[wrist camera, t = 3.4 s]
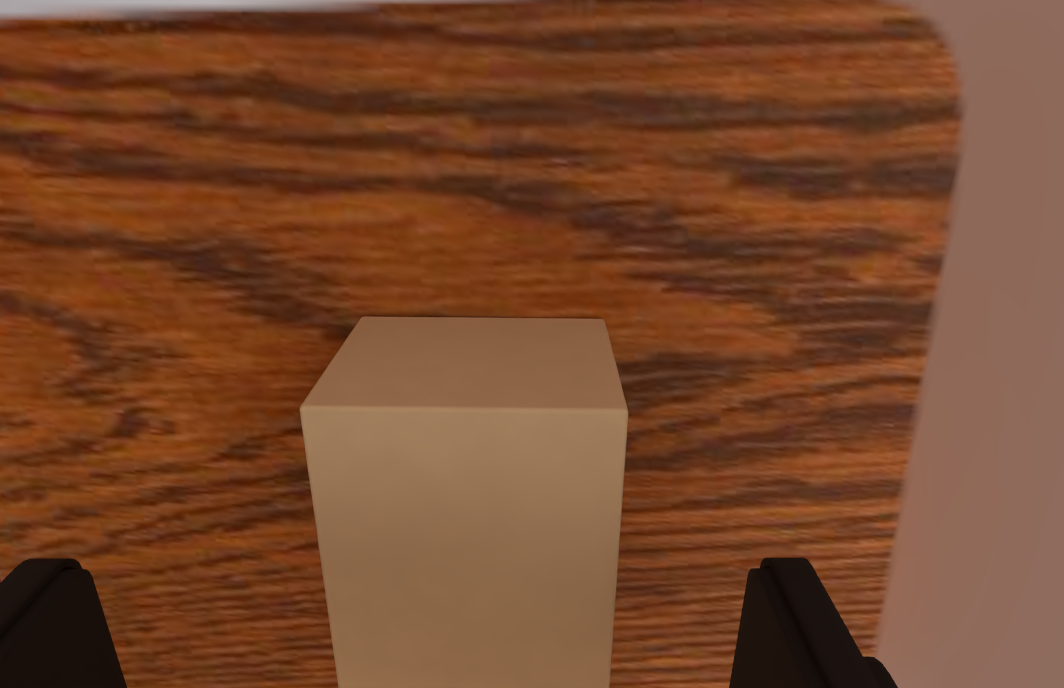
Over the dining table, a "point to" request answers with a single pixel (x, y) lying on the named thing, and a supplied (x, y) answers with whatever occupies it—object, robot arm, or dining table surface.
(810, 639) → the robot arm
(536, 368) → the plain tan block
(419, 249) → the dining table surface
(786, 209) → the dining table surface
